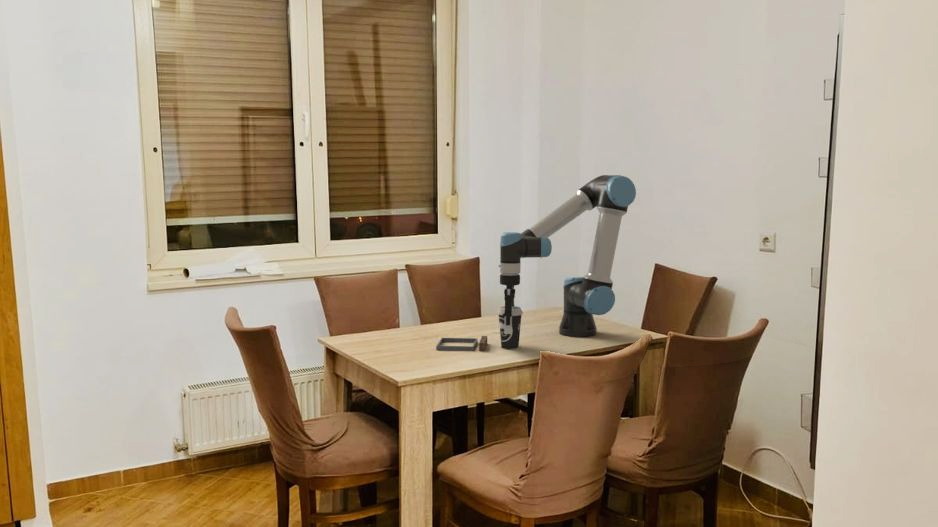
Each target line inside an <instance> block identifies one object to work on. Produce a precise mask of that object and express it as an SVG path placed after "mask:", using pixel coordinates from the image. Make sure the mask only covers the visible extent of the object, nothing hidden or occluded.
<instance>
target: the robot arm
mask: <svg viewBox="0 0 938 527" xmlns="http://www.w3.org/2000/svg"><path fill="white" fill-rule="evenodd" d="M636 195H637V189H636V185H635V183H634V182H633V181H632V180H631V179H630V178H629V177H627V176H624V175H620V174H619V175H618V174H616V175H615V174H614V175H613V174H612V175H609V174H607V175H606V174H603V175H599V176H597V177H595V178H593V179H592V180H590V181H589V182H587V183H586V184H584V185H583V186H581V187H580V188H578V189H577V190H576V192H575V194H574V195H573V196H571V197H570V198H569V199H568V200H566V201H565V202H563V203H562V204H561V205H559V206H557V207H556V208H555V209H554V210H552V211H550V213H548V214H546V215H545V216H544V217H542V218H541V219H539V220H538V221H537V222H535V223H534V224H533V225H531V226H530V227H528V228H527V229H525V230H524V231H523V232H518V231H517V232H513V231H509V232H508V231H507V232H506V231H505V232H503V233H502V234H501V235H500V244H499V246H500V247H499V248H500V251H499V252H500V260H499V261H500V264H498V268H499V273H500V275H499V284H500V285H502V286H506V287H505V288H504V291H503V293H504V306H505V313H504V314H503V316H504V334H512V306H515V297H516V296H515V295H516V288H515V286H519V285H520V284H521V275H520V274H521V264H522V263H521V259H525V258H528V259H529V258H540V259H542V258H548V257H550V255H551V253H552V249H553V247H552V246H553V245H552V241H551V239H550V238H549V237H551V236H552V235H554V234H555V233H557V232H558V231H560V230H561V229H562V228H563V227H565V226H566V225H568V224H569V223H571V222H572V221H574V220H575V219H576V218H577V217H580V216H581V215H582V214H584V213H585V212H586V211H592V210H593V209H595V208H596V209H597V210H598V212H599V215H598V221H597V225H596V229H595V230H596V231H595V235H594V242H593V245H592V252H591V256H590V261H589V262H590V263H589V267H588V271H587V274H585V275H584V276H578V277H577V276H576V277H566V278H565V279H564V281H563V315H562V318H561V321H560V323H559V328H558V333H559V334H560V335H563V336H566V337H577V338H580V337H582V338H583V337H584V338H586V337H593V336H595V335H597V330H598V329H597V326H596V321H595V319H594V315H596V316H603V315H605V314H607V313H608V312H610V311H611V310H612V309H613V308H614V305H615V304H616V303H615V302H616V295H615V293H614V291H613V284H614V281H613V280H612V278H611V274H612V269H613V264H614V258H615V254H616V249H617V243H618V238H619V234H620V229H621V228H620V227H621V223H622V218H623V216H624V215H626V214H628V207H629V206H630V205H631V204H633V202H635V199H636Z"/></svg>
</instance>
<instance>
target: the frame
mask: <svg viewBox="0 0 938 527" xmlns="http://www.w3.org/2000/svg"><path fill="white" fill-rule="evenodd" d="M443 343H473V344H472V346H468V345H442V344H443ZM478 343H479V342H478V337H477V338H475V337H470V338H469V337H441V338H440V340H439V341H438V343H437V344H436V347H435V350H436V351H437V350H438V351H467V352H470V351H475V348H476V346H477V345H478Z"/></svg>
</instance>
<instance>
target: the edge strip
mask: <svg viewBox="0 0 938 527" xmlns="http://www.w3.org/2000/svg"><path fill="white" fill-rule="evenodd" d="M487 345H488V335H482V336H481V337H480V340H479V342H478V351H479V352H485V351H486V349H487Z"/></svg>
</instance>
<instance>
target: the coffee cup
mask: <svg viewBox="0 0 938 527" xmlns="http://www.w3.org/2000/svg"><path fill="white" fill-rule="evenodd" d="M504 313H505V305H504V306H500V307H499V309H498V310H497V315H498V323H499V324H498V325H499V334H500V336H499V337H500V346H501V349H504V350H515V349H518V348H519V346H520V336H521V335H520V334H521V324H522V315H523V310H522V308H521V307H520V306H515V305H514V306H512V334H504V316H503V314H504Z"/></svg>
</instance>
